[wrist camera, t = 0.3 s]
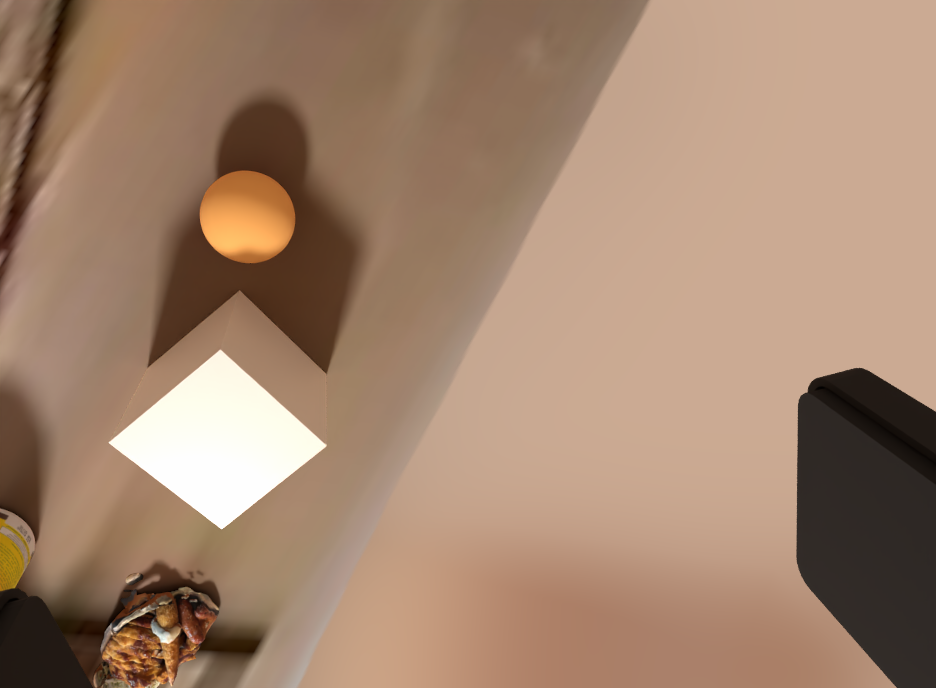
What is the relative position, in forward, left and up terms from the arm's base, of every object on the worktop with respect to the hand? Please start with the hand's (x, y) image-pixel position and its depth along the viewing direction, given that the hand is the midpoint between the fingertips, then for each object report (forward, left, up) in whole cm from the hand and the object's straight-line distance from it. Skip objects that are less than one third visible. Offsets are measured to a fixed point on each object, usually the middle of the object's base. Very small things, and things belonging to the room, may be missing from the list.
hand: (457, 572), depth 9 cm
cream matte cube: (+6, -15, -36) cm, 39 cm away
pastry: (+18, -35, -37) cm, 54 cm away
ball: (-1, -7, -34) cm, 34 cm away
